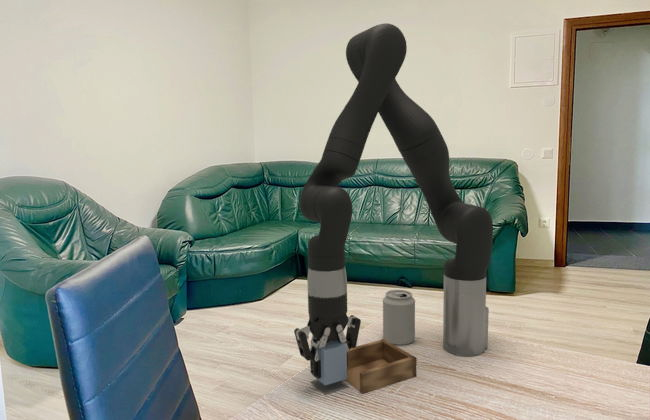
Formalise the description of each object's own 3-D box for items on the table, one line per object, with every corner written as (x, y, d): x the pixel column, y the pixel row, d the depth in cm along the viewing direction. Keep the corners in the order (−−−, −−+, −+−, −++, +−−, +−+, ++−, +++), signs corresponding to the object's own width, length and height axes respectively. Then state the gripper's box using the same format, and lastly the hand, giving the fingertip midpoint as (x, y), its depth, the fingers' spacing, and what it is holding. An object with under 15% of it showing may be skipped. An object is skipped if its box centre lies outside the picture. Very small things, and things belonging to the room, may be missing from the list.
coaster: (333, 377, 103) (333, 374, 103) (349, 389, 98) (349, 386, 97) (310, 384, 100) (310, 381, 100) (325, 397, 95) (325, 394, 95)
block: (333, 368, 102) (333, 335, 101) (347, 378, 98) (346, 344, 97) (312, 374, 99) (311, 341, 98) (324, 385, 95) (323, 350, 94)
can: (414, 348, 115) (414, 298, 113) (381, 346, 117) (381, 297, 115) (415, 335, 122) (415, 288, 121) (384, 334, 124) (384, 287, 122)
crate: (383, 358, 111) (383, 339, 110) (416, 378, 101) (416, 357, 101) (333, 373, 104) (332, 353, 104) (362, 396, 95) (362, 374, 94)
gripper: (348, 278, 102) (349, 357, 105) (284, 291, 95) (288, 375, 98) (369, 288, 96) (370, 371, 99) (303, 302, 89) (305, 391, 92)
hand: (329, 372), depth 98 cm, fingers closed on block, 5 cm apart
